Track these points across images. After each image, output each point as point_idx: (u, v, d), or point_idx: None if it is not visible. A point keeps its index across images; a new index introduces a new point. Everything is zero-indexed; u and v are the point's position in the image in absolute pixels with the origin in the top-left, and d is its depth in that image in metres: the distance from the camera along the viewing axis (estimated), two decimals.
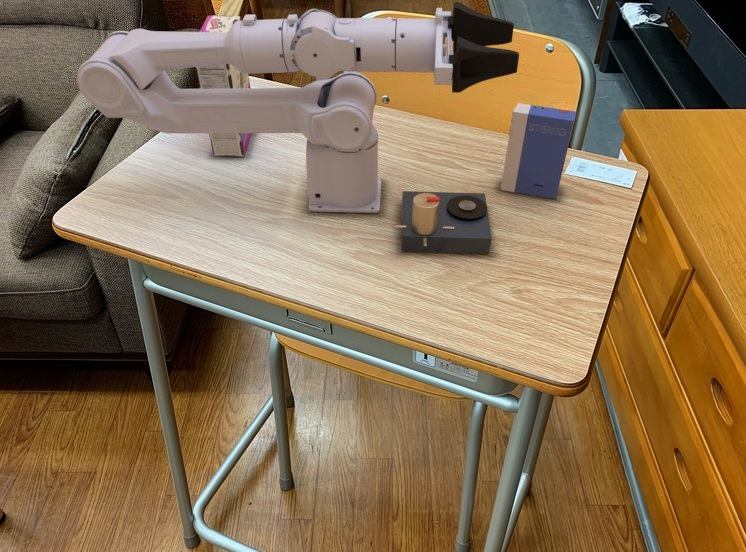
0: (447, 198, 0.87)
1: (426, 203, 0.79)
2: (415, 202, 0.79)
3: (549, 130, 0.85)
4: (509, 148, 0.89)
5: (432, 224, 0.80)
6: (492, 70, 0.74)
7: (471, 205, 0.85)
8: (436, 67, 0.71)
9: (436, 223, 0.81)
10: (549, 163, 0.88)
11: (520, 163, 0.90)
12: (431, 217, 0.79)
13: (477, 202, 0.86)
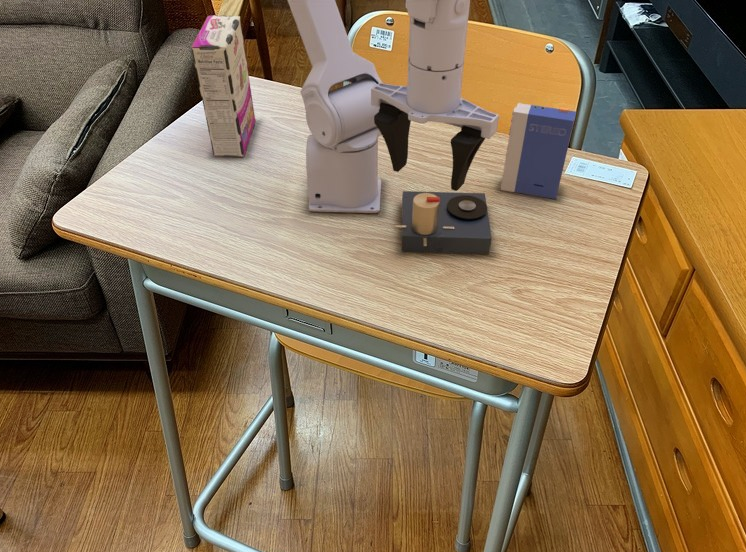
0: (447, 198, 0.87)
1: (426, 203, 0.79)
2: (415, 202, 0.79)
3: (549, 130, 0.85)
4: (509, 148, 0.89)
5: (432, 224, 0.80)
6: None
7: (471, 205, 0.85)
8: (371, 90, 0.73)
9: (436, 223, 0.81)
10: (549, 163, 0.88)
11: (520, 163, 0.90)
12: (431, 217, 0.79)
13: (477, 202, 0.86)
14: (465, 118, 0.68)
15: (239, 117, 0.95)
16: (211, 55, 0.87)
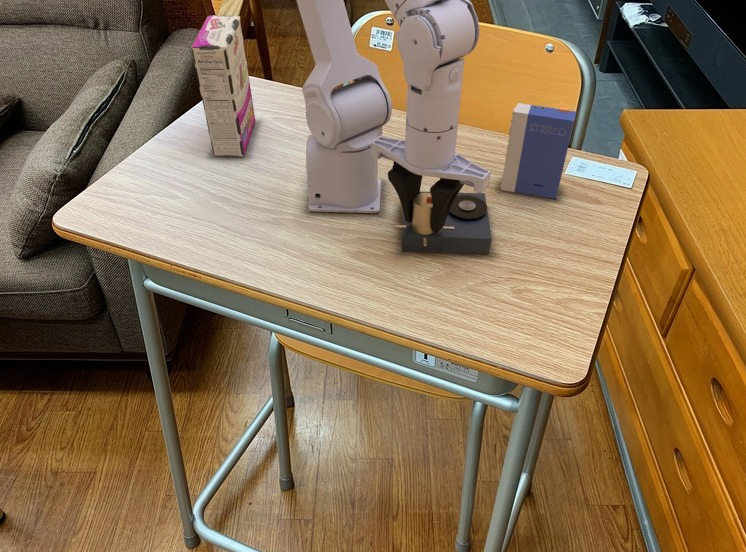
0: None
1: (426, 203, 0.79)
2: (415, 202, 0.79)
3: (549, 130, 0.85)
4: (509, 148, 0.89)
5: None
6: None
7: (471, 205, 0.85)
8: (490, 172, 0.73)
9: None
10: (549, 163, 0.88)
11: (520, 163, 0.90)
12: (431, 217, 0.79)
13: (477, 202, 0.86)
14: (402, 140, 0.78)
15: (239, 117, 0.95)
16: (211, 55, 0.87)
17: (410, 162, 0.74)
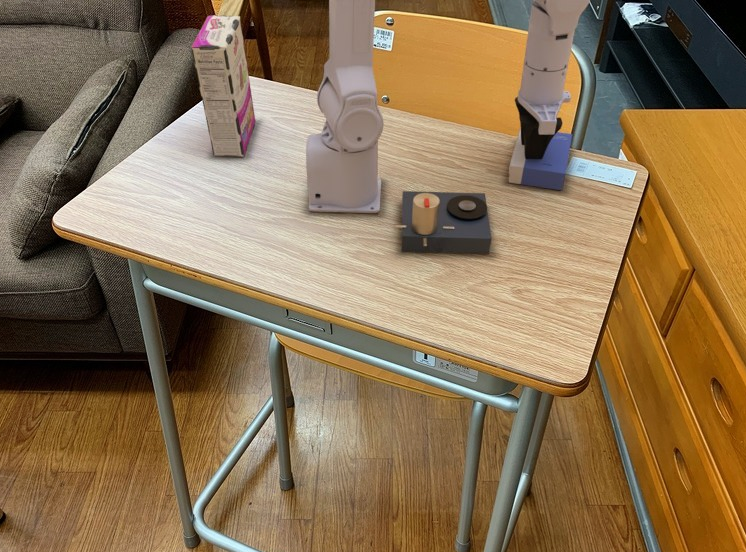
0: (447, 198, 0.87)
1: (420, 200, 0.79)
2: (421, 194, 0.80)
3: None
4: (518, 143, 0.97)
5: (414, 221, 0.81)
6: (531, 146, 0.92)
7: (471, 205, 0.85)
8: (556, 121, 0.84)
9: (419, 225, 0.80)
10: (555, 153, 0.95)
11: None
12: (414, 213, 0.80)
13: (477, 202, 0.86)
14: None
15: (239, 117, 0.95)
16: (211, 55, 0.87)
17: (520, 89, 0.90)
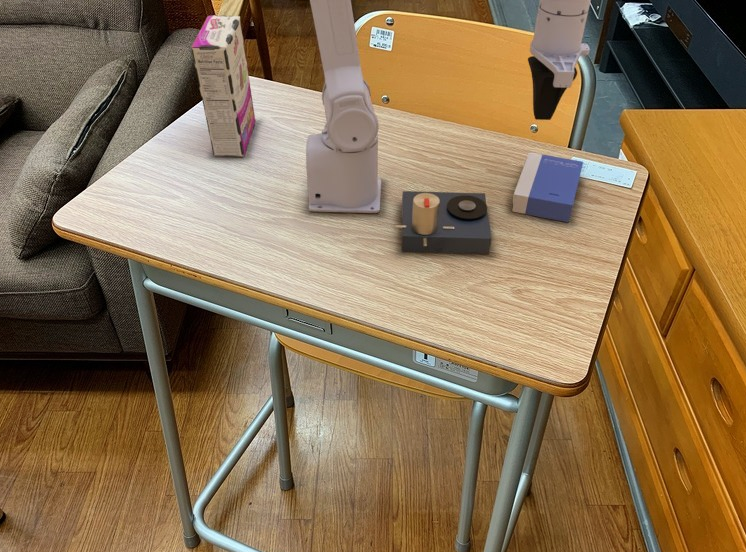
0: (447, 198, 0.87)
1: (420, 200, 0.79)
2: (421, 194, 0.80)
3: (562, 164, 0.93)
4: (524, 170, 0.92)
5: (414, 221, 0.81)
6: (541, 99, 0.84)
7: (471, 205, 0.85)
8: (573, 72, 0.75)
9: (419, 225, 0.80)
10: (563, 182, 0.90)
11: (535, 179, 0.90)
12: (414, 213, 0.80)
13: (477, 202, 0.86)
14: None
15: (239, 117, 0.95)
16: (211, 55, 0.87)
17: (533, 40, 0.81)
